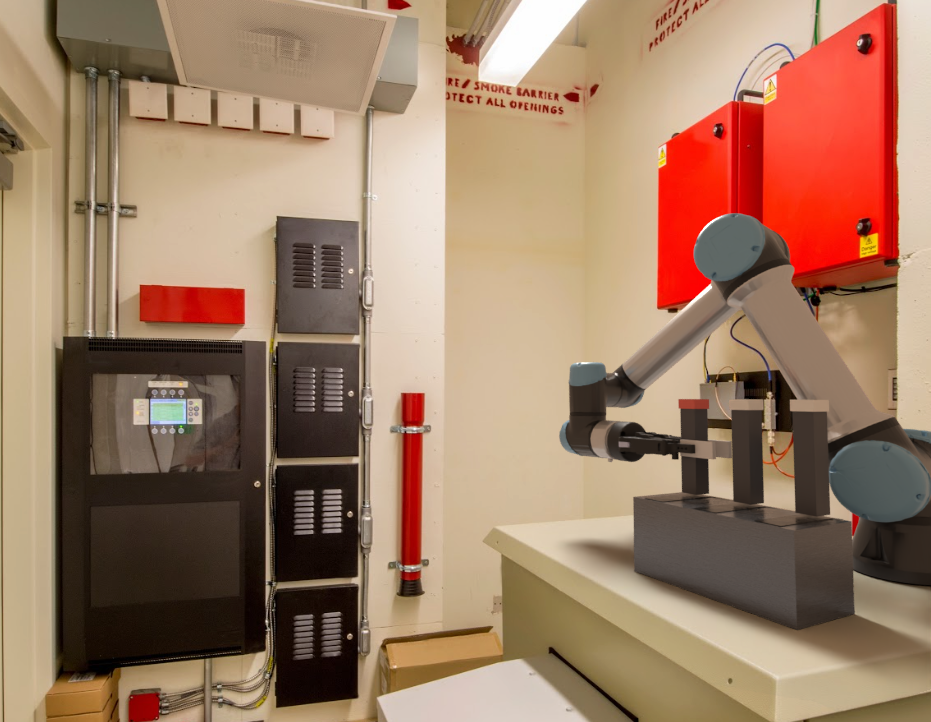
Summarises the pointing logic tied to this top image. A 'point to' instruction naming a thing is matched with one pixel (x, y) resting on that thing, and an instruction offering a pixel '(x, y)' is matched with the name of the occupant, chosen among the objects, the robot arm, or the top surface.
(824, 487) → the post
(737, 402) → the post
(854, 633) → the top surface
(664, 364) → the robot arm
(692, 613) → the top surface
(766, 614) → the dark grey block
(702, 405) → the post
